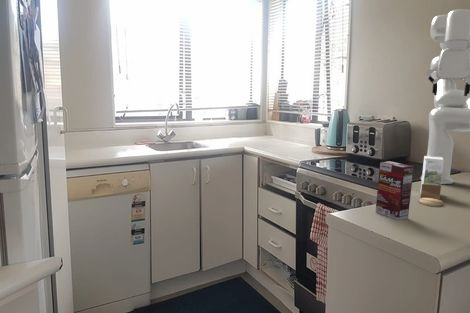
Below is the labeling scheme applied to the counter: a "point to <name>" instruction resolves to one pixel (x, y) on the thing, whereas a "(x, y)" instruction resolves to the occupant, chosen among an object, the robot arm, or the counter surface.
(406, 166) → the supplement box
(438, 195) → the cradle
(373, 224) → the counter surface
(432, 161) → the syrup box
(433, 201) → the disc
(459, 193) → the counter surface
